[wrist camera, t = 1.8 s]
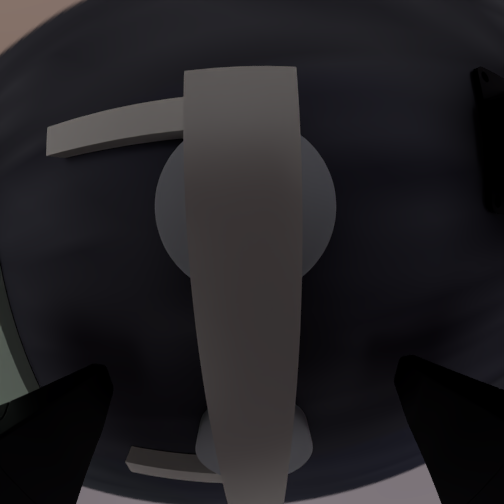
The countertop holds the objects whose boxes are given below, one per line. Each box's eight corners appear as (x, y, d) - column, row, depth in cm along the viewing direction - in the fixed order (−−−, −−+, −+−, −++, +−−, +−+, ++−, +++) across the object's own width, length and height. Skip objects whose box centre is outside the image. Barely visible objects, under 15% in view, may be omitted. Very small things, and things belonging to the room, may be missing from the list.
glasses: (318, 105, 8) (349, 71, 5) (301, 462, 11) (308, 507, 9) (66, 132, 8) (13, 120, 5) (136, 456, 11) (122, 495, 9)
